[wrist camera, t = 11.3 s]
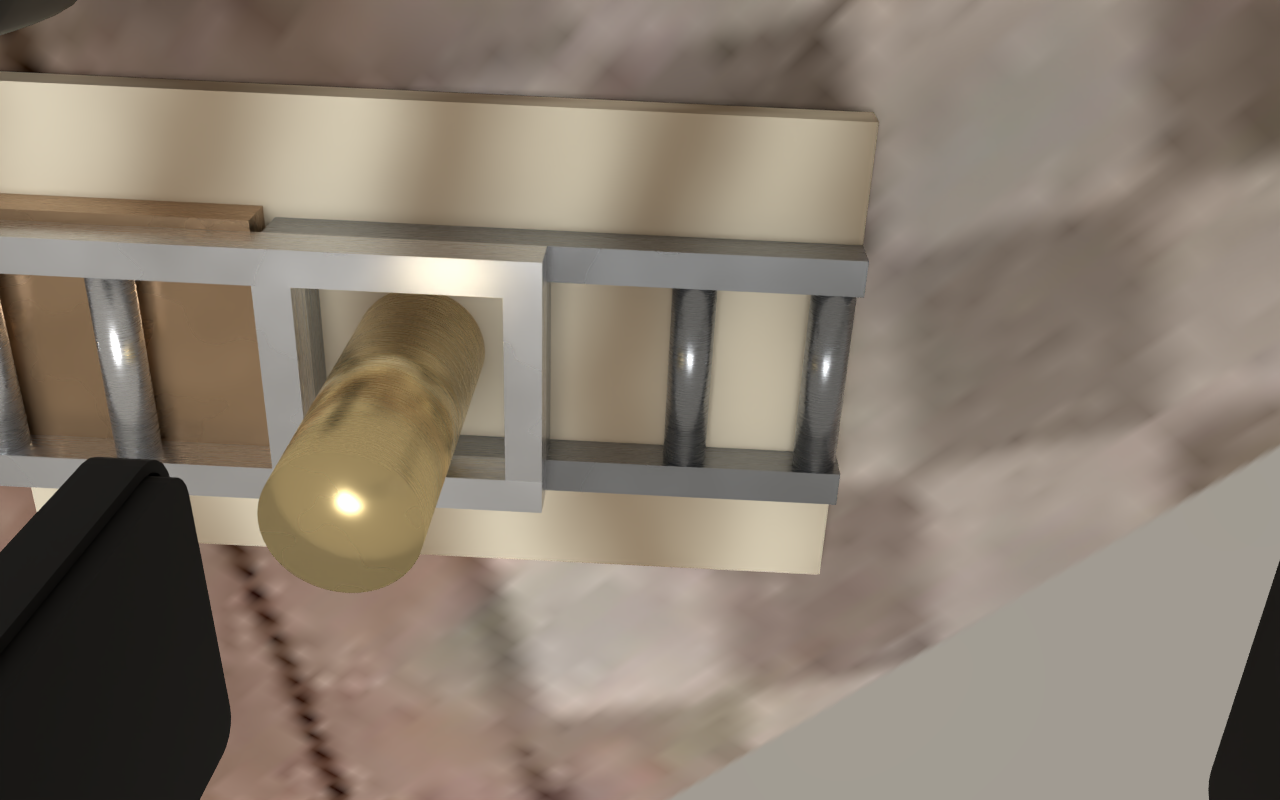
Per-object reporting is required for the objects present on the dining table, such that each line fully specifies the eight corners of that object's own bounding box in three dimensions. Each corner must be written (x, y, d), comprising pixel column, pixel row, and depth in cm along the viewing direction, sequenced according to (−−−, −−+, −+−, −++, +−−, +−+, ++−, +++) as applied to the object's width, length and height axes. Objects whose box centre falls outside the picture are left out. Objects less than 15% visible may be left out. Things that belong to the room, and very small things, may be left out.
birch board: (873, 112, 32) (879, 122, 31) (816, 555, 38) (819, 574, 37) (-41, 69, 32) (-62, 77, 31) (56, 517, 38) (42, 535, 37)
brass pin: (483, 291, 33) (420, 457, 25) (485, 407, 35) (427, 596, 27) (352, 285, 33) (248, 447, 25) (361, 401, 35) (266, 588, 27)
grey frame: (862, 245, 32) (868, 261, 31) (831, 482, 36) (836, 504, 35) (274, 217, 32) (261, 232, 31) (300, 456, 36) (288, 477, 35)
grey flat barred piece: (551, 219, 32) (542, 251, 30) (549, 477, 36) (541, 522, 34) (-36, 191, 32) (-87, 221, 30) (22, 450, 36) (-19, 493, 34)
